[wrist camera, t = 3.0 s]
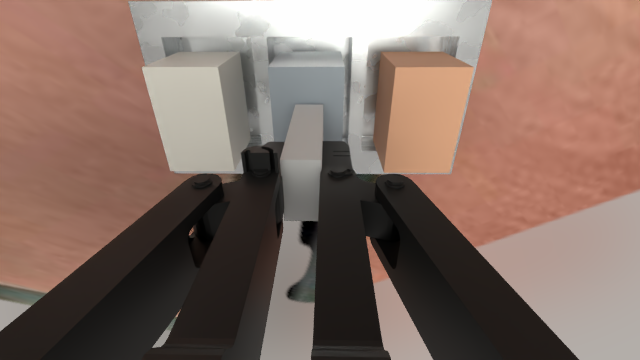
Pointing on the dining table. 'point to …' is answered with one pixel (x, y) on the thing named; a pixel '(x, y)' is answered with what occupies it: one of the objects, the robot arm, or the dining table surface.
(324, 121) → the slate key
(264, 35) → the grey tray
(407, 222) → the robot arm
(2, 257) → the dining table surface
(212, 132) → the cream block
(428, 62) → the orange block
